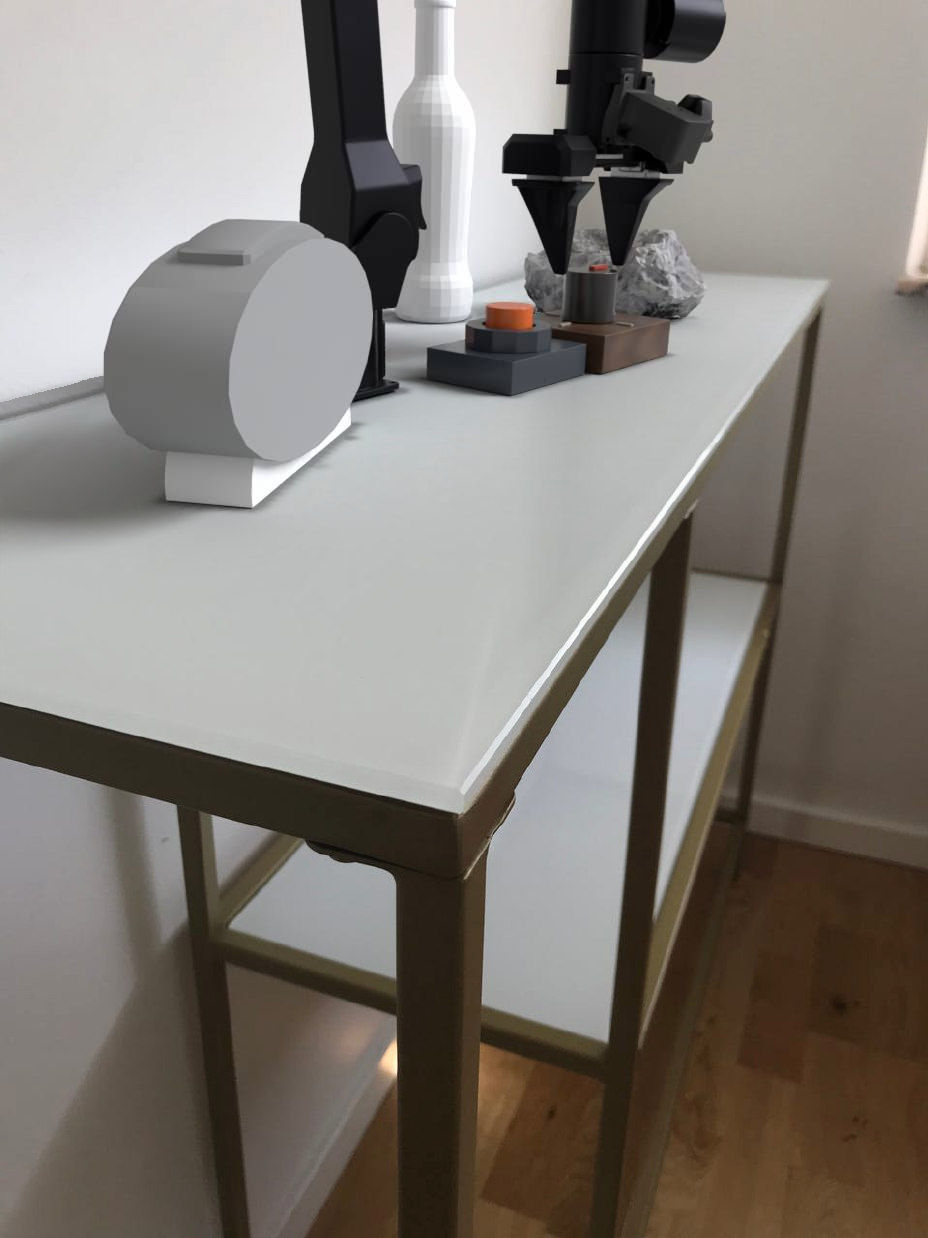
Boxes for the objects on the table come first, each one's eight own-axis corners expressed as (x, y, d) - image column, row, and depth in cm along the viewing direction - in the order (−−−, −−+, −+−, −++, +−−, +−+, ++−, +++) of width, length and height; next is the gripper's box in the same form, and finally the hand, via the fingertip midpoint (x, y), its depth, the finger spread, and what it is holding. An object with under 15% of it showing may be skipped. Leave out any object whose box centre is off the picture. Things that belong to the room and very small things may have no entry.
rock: (717, 299, 111) (719, 202, 106) (693, 350, 100) (694, 246, 95) (555, 299, 118) (548, 208, 112) (516, 348, 107) (507, 249, 101)
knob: (596, 325, 84) (600, 270, 82) (551, 319, 87) (554, 265, 85) (623, 319, 87) (627, 266, 86) (579, 313, 90) (583, 261, 88)
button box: (511, 395, 74) (513, 339, 73) (426, 379, 79) (426, 325, 77) (584, 374, 82) (588, 322, 80) (503, 360, 86) (504, 310, 84)
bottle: (486, 316, 106) (497, -25, 93) (444, 327, 100) (448, -37, 87) (422, 308, 110) (423, -20, 97) (376, 318, 104) (371, -32, 91)
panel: (602, 374, 82) (605, 333, 80) (500, 356, 87) (501, 318, 86) (667, 354, 90) (671, 317, 88) (570, 339, 95) (572, 304, 94)
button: (514, 334, 76) (515, 310, 76) (475, 328, 78) (476, 305, 78) (541, 328, 79) (542, 305, 78) (503, 323, 81) (504, 300, 80)
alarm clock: (287, 407, 70) (275, 205, 64) (374, 413, 69) (371, 208, 63) (117, 520, 49) (80, 236, 44) (239, 531, 48) (216, 242, 43)
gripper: (638, 43, 68) (617, 290, 74) (755, 62, 81) (728, 269, 88) (501, 47, 74) (493, 275, 80) (631, 64, 87) (615, 258, 94)
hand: (590, 269), depth 85 cm, fingers open, 9 cm apart
